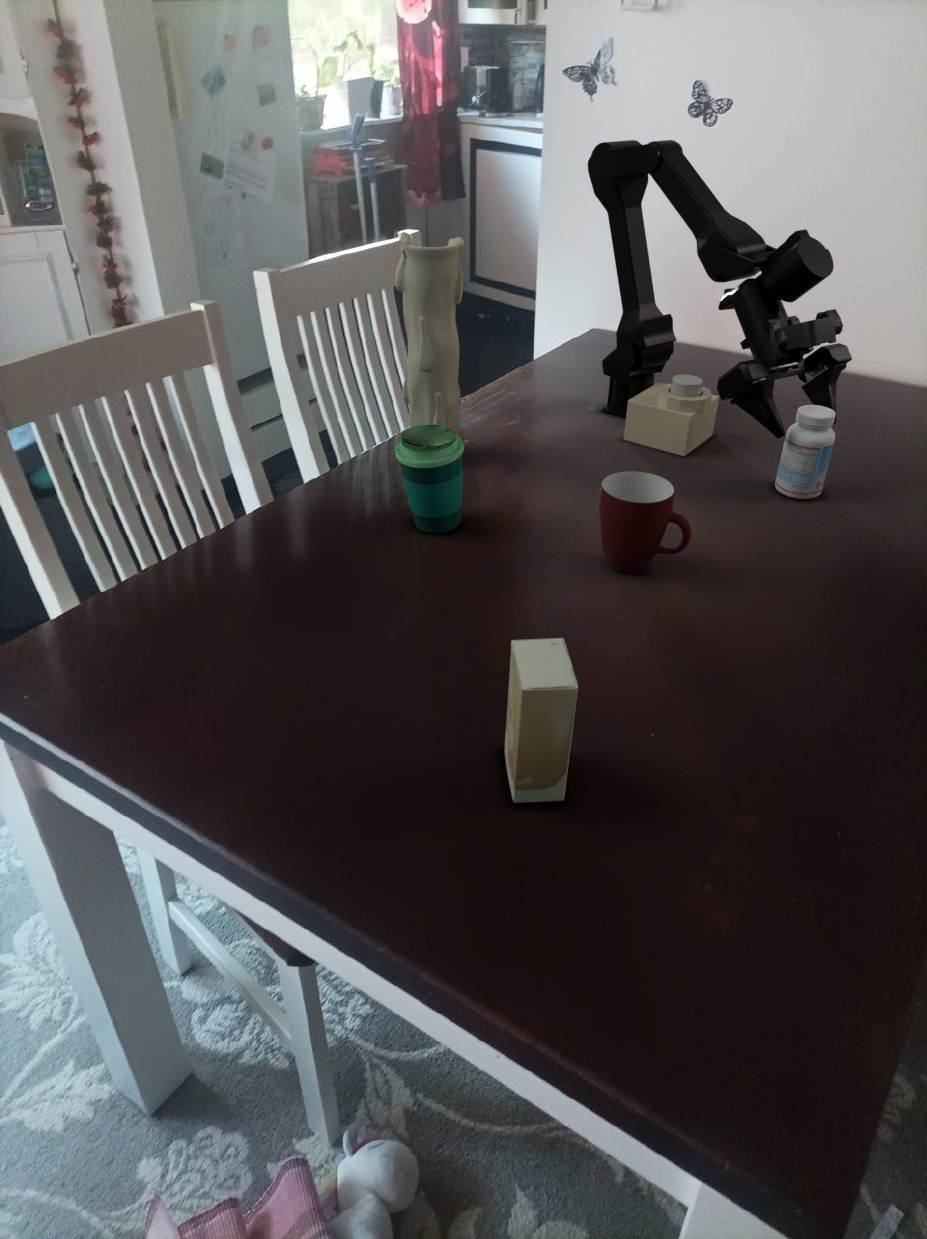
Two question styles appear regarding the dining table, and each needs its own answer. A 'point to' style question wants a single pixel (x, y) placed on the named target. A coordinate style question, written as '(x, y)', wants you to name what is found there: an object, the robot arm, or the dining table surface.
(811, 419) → the pill bottle
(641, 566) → the mug
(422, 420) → the vase
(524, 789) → the cosmetic box
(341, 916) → the dining table surface
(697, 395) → the cylinder
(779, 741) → the dining table surface
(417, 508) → the cup
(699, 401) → the block
